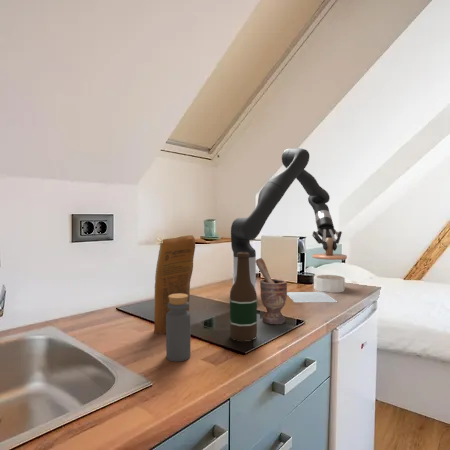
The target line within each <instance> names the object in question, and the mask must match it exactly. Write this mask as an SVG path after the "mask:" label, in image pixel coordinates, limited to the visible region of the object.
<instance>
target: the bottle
mask: <svg viewBox="0 0 450 450" xmlns="http://www.w3.org/2000/svg"><path fill="white" fill-rule="evenodd" d="M168 297H169V303H168V308H169V309H170V311H169V312H168V313H167V314H166V333H165V340H166V343H165V346H166V347H165V348H166V349H165V352H166V357H165V358H166V359H167V360H168V361H170V362H183V361H184V362H185V361H186V360H189V359H190V357H191V322H190V321H191V312H190V310H189V311H187V310H186V308H188V307H189V308H190V301H189V302H187V299H188V295H187V294H181V293H178V294H171V295H169V296H168Z"/></svg>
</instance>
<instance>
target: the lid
mask: <svg viewBox="0 0 450 450" xmlns="http://www.w3.org/2000/svg"><path fill="white" fill-rule="evenodd" d="M325 242H326V243H327V247H328V248H327V251H325V252H321V253H319V252H317V253H313V254H312V255H311V256H312V258H313V259H316V260H317V259H318V260H328V261H329V260H330V261H331V260H333V261H339V260H346V259H347V258H348V257H347V255H346V254H341V253H334V251H333V238H329V237H328V238H326V241H325Z"/></svg>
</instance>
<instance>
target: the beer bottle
mask: <svg viewBox="0 0 450 450" xmlns="http://www.w3.org/2000/svg"><path fill="white" fill-rule="evenodd" d="M237 257H238V261H237V276H236V281H235V283H234V284H233V283H232V286H231V287H230V291H229V335H230V338H231V340H232V339H235V340H239V341H245V340H252V339H253V338H255V337H256V338H257V334H258V295H257V290H256V291H255V288H254V286H253V284H252V283H251V280H250V270H249V257H250V255H249V253H247V252H239V253H237Z"/></svg>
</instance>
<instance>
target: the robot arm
mask: <svg viewBox="0 0 450 450" xmlns="http://www.w3.org/2000/svg"><path fill="white" fill-rule="evenodd" d="M281 162H282V165H283V166H284V168H285V169H283V171H281V172H279V173H277V174H276V175H274V176H272V177H271V178H270V179H268V180H267V181H266V182H265V184H264V185H263V187H262V188H261V189H260V192H259V193H258V199H257V204H256V206H255V208H254V209H253V211H252V212H251V213H250V215H248V217H237V218H235V219H234V220H233V221H232V223H231V226H230V240H231V241H230V243H231V251H232V253H233V260H232V261H233V264H232V265H233V268H232V270H233V273H232V285H233V284H234V283H235V281H236V276H237V261H238V257H237V253H239V252H247V253H249V255H250V257H249V270H250V280H251V283H252V284H253V286H254V288H255V291H256V292H257V290H256V289H257V288H256V287H257V285H256V284H257V281H256V280H257V270H256V269H257V267H256V266H257V264H256V260H257V258H256V254H257V253H256V249H255V248H253V246H252V244H251V241H253V240H255V239H256V238H257V237H258V236H259V235H260V233H261V232H262V230H263V227H264V225H265V224H266V222H267V220H268V218H269V217H270V216H271V214H272V212H274V209H275V208H276V206H277V205H278V204H279V202H280V201H281V200H282V198H283V197H284V195H285V194H286V193H287V191H288V190H289V188H290V187H291V185H292V184H293V182H295V180H297V181H298V182H299V183H300V184H301V187H302V188H303V189H304V191H305V193H306V194H307V195H308V197H307V200H308V201H307V202H308V203H309V205H310V206H311V208H312V209H313V212H314V216H315V224H316V229H317V231H315V230H313V232H312V235H311V236H312V237H313V238H314V240H315V241H316V243H317V244H321V245H322V247H323V250H324V251H325V252H326V251H327V248H328V247H327V243H326V238H328V237H329V238H333V252H336V250H337V248H338V246H337V245H338V244H339V243H340V240H341V236H342V235H343V232H342V231H337V230H336V229H335V225H334V223H333V218H332V215H331V213H330V208H329V206H328V203H329V202H330V199H331V198H330V197H331V196H330V195H329V193H328V191H327V190H325V189H324V188H323V187H321V186H320V185H319V183H318V181H317V179H316V177H314V176H313V175H312V174H311V173H310V172H308V171H307V170H306V168H307V166H308V164H309V162H310V152H309V151H308V150H307V149H305V148H292V147H290V148H286V149H285V150H284V151H283V152H282V153H281ZM335 235H336V237H337V238H335Z"/></svg>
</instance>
